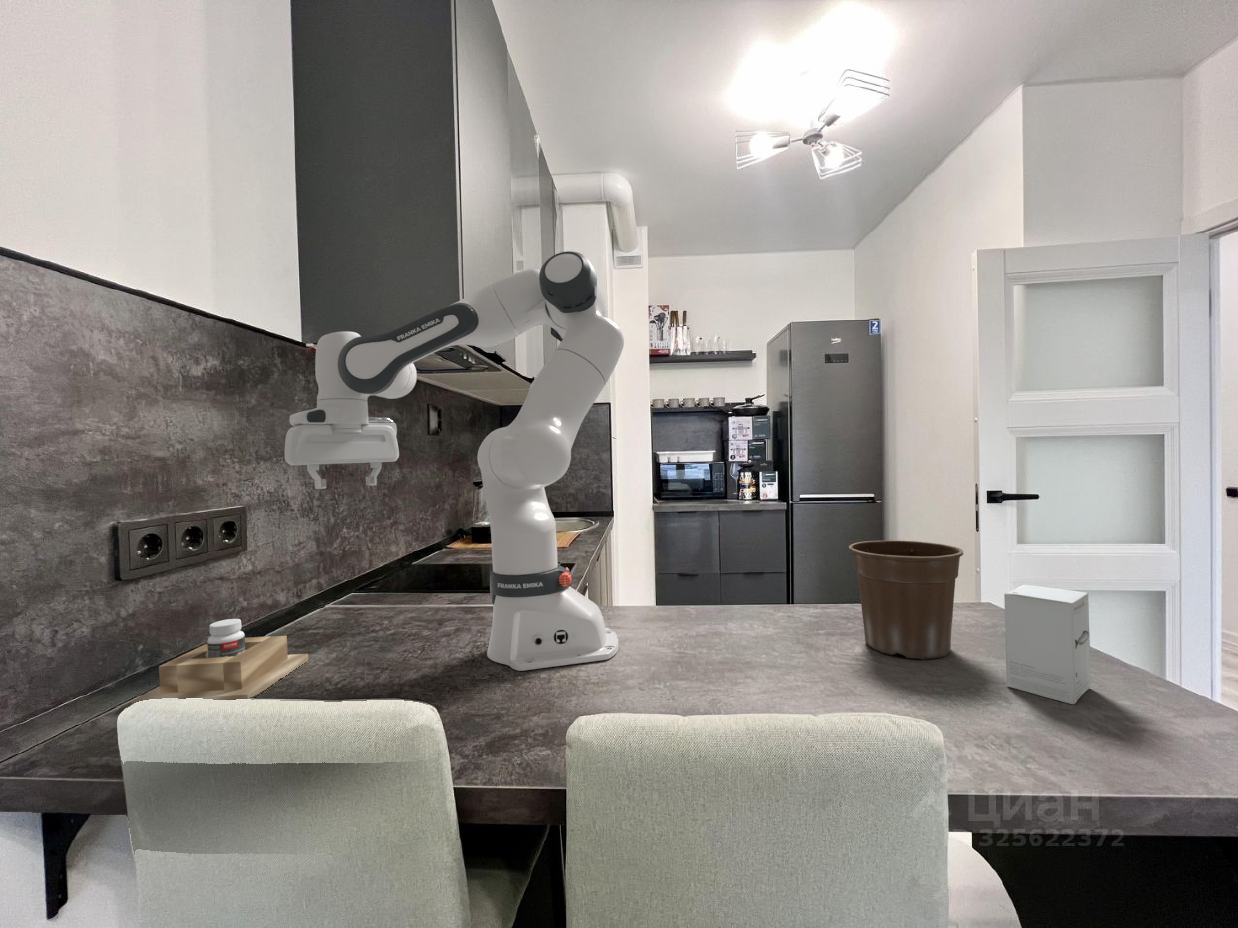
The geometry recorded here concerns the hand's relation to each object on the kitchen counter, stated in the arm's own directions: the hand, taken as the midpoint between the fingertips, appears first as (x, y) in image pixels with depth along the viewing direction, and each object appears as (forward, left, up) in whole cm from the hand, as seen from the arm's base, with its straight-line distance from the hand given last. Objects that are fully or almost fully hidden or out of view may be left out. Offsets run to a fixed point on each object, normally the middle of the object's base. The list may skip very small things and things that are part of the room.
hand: (346, 487), depth 105 cm
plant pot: (-98, +22, -29) cm, 105 cm away
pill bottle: (+10, +21, -28) cm, 37 cm away
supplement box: (-107, +39, -29) cm, 118 cm away
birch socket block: (+10, +21, -29) cm, 37 cm away
